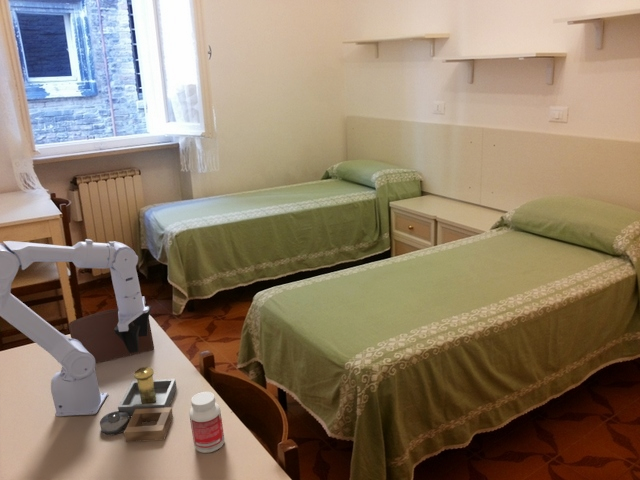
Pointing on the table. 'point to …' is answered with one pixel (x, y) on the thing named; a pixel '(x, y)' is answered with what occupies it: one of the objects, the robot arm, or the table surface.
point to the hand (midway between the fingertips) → (138, 343)
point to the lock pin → (146, 385)
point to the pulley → (114, 422)
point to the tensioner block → (148, 432)
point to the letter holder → (105, 336)
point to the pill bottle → (206, 422)
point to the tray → (162, 390)
